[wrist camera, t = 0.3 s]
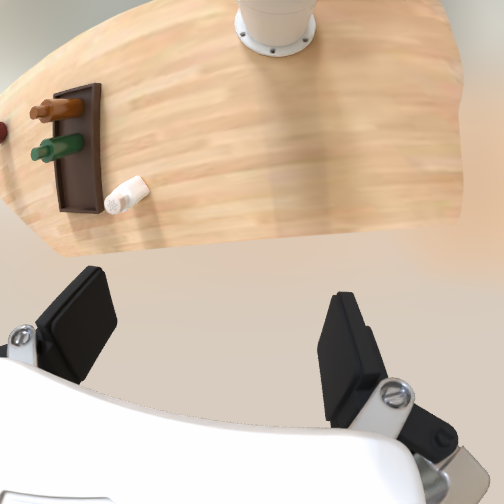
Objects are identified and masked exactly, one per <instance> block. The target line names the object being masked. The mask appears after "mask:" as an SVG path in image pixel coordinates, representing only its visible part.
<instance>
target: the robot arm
mask: <svg viewBox="0 0 504 504" xmlns="http://www.w3.org/2000/svg"><path fill="white" fill-rule="evenodd" d="M236 1H237V4H238V7H239V10H238V12H237V14H236V17H235V29H236V33H237V35H238V37H239V38H240V40H241V41H242V43H243V44H244V45H245V46H246V47H248V48H249V49H251V50H252V51H254V52H256V53H259V54H262V55H265V56H271V57H284V56H289V55H292V54H295V53H298V52H299V51H301V50H303V49H304V48H305V47H306V46H308V45H309V43H310V42H311V41H312V39H313V37H314V34H315V31H316V22H315V18H314V15H313V13H312V12H313V10H314V7H315V4H316V2H317V0H236ZM242 35H245V36H244V37H242ZM303 40H306V42H304V41H303ZM272 51H274V52H275V53H271V52H272ZM35 323H36V325H37V327H38V328H37V329H36V330H35V329H34V327H33V326H31V325H27V324H26V325H21V326H19V327H17V328H15V329H14V330H13V331H12V332H11V334H10V335H9V338H8V344H6V345H3V346H0V504H478V503H479V502H480V500H481V499H482V498H483V496H484V495H485V493H486V492H487V490H488V488H489V485H490V476H489V474H488V473H487V471H486V470H485V469H484V468H483V467H482V466H481V465H480V463H479V462H478V461H477V460H476V459H475V458H474V457H473V456H472V455H471V454H470V453H469V451H468V450H466V448H465V447H464V446H462V447H459V446H458V435H457V432H456V430H455V429H454V428H453V427H452V426H451V425H450V424H448V423H446V422H444V421H443V420H441V419H440V418H438V417H436V416H435V415H433V414H431V413H429V412H428V411H426V410H425V409H423V408H421V407H419V406H418V405H416V404H415V403H414V401H415V393H414V391H413V389H412V387H411V386H410V385H409V384H408V383H407V382H405V381H404V380H401V379H399V378H388V375H387V372H386V369H385V366H384V363H383V360H382V357H381V354H380V352H379V349H378V346H377V343H376V341H375V338H374V335H373V332H372V330H371V328H370V327H369V326H365V323H364V321H363V317H362V315H361V312H360V310H359V307H358V304H357V302H356V299H355V297H354V294H353V293H352V292H338V293H337V295H333V296H332V298H331V302H330V305H329V309H328V312H327V316H326V319H325V323H324V326H323V329H322V333H321V336H320V339H319V342H318V347H317V353H318V359H319V367H320V375H321V383H322V390H323V399H324V408H325V417H326V421H330V423H331V428H304V427H302V428H301V427H277V426H262V425H250V424H239V423H231V422H222V421H215V420H209V419H203V418H196V417H191V416H185V415H180V414H176V413H171V412H166V411H162V410H157V409H154V408H150V407H146V406H142V405H138V404H135V403H131V402H127V401H124V400H121V399H117V398H115V397H111V396H108V395H105V394H102V393H99V392H97V391H94V390H91V389H88V388H85V387H83V386H80V385H79V384H80V382H81V381H84V380H85V378H86V376H87V375H88V373H89V371H90V369H91V367H92V366H93V364H94V362H95V361H96V359H97V357H98V356H99V354H100V352H101V350H102V349H103V347H104V346H105V344H106V342H107V341H108V339H109V338H110V336H111V334H112V332H113V331H114V329H115V328H116V326H117V317H116V313H115V310H114V306H113V303H112V299H111V295H110V291H109V287H108V283H107V279H106V275H105V272H104V271H103V270H102V269H101V268H100V267H95V266H88V267H86V268H85V269H84V270H83V271H82V272H81V273H80V274H79V275H78V276H77V277H76V278H75V280H73V281H72V282H71V283H70V285H68V286H67V288H66V289H65V290H64V291H63V292H62V293H61V294H60V295H59V296H58V297H57V298H56V299H55V300H54V301H53V302H52V304H51V305H50V306H49V307H48V308H47V309H46V310H45V311H44V312H43V314H42V315H41V316H40V317H39V318H38V320H37V321H36V322H35ZM424 494H425V495H424Z"/></svg>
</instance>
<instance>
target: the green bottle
mask: <svg viewBox="0 0 504 504" xmlns="http://www.w3.org/2000/svg"><path fill="white" fill-rule="evenodd" d="M83 146H84V139H83V136H82V135H81V134H80V133H78V132H76V133H70V134H66V135H61V136H57V137H52V138H48V139H45V140H43V141H42V142H41V144H40V147H36V148H33V149H32V151H31V158H32V160H33V161H37V160H40V159H41V160H42V161H43V162H45V163H48V162H51V161H54V160H57V159H60V158H63V157H66V156H69V155H72V154H76V153H79V152H80V151H81V150H82V148H83Z"/></svg>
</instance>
